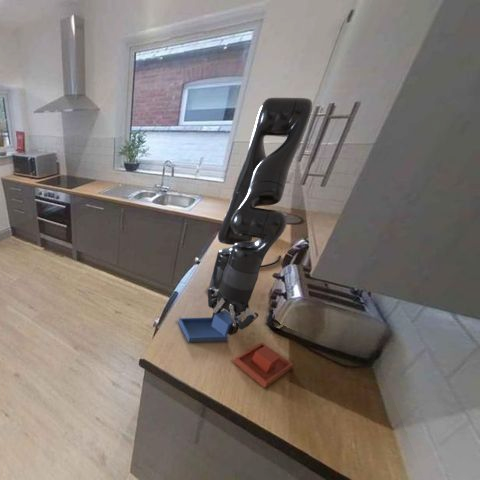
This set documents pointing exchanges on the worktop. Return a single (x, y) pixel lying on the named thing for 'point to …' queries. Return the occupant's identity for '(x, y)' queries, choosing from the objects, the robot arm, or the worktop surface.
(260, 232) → the robot arm
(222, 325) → the blue block
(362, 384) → the worktop surface
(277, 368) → the rust tray
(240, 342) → the worktop surface
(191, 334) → the blue tray
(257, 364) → the rust block
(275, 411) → the worktop surface
